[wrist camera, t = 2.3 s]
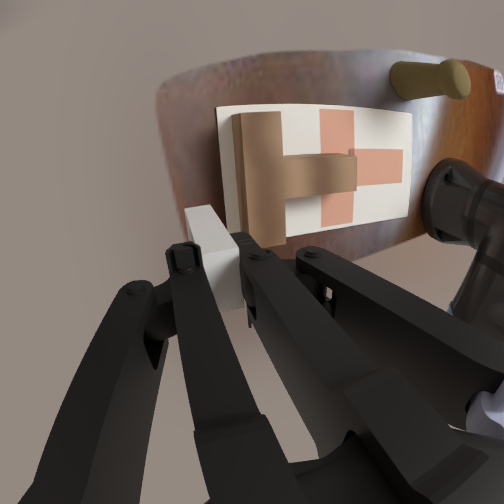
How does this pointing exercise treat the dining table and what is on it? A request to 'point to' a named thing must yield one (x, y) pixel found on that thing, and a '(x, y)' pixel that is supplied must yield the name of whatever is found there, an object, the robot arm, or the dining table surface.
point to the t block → (279, 175)
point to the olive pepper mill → (430, 80)
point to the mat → (333, 141)
